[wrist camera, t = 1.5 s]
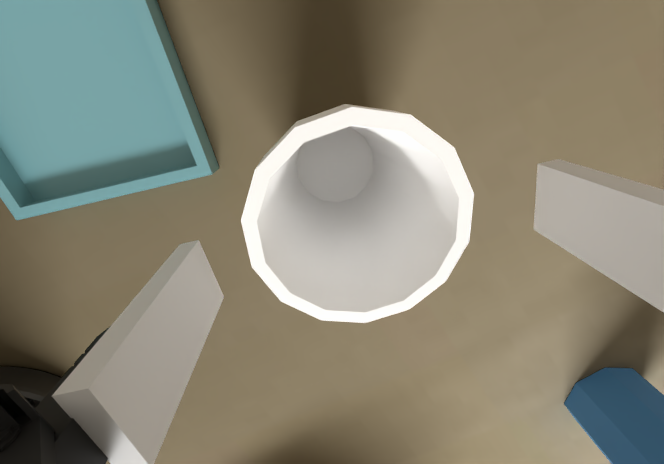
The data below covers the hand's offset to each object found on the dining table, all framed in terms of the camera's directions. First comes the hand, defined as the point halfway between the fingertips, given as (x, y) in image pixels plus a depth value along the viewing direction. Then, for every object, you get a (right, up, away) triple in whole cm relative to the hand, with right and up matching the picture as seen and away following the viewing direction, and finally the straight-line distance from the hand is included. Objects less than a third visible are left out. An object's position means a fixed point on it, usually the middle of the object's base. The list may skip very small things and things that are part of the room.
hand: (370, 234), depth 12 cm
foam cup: (-1, +6, +13) cm, 14 cm away
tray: (-19, +10, +9) cm, 23 cm away
